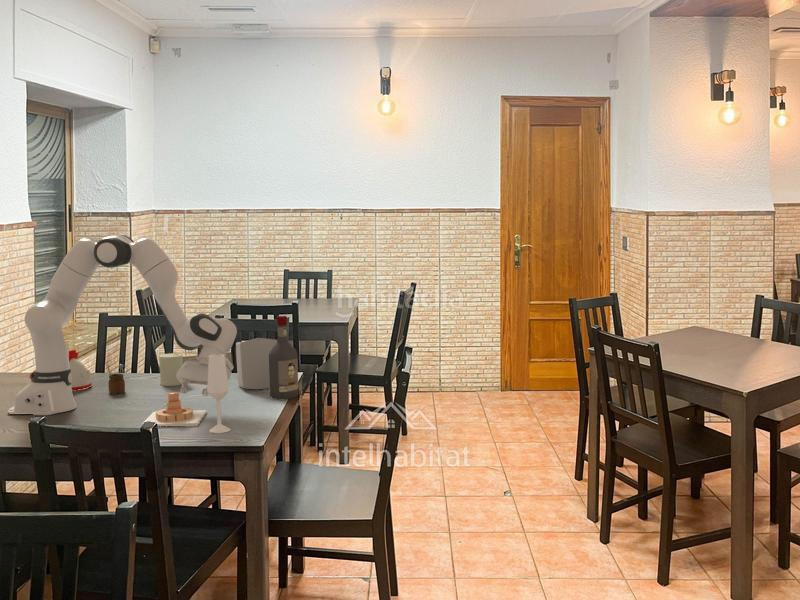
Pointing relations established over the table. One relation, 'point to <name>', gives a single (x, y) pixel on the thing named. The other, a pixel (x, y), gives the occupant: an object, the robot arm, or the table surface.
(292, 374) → the liquor
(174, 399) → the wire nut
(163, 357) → the can
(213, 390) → the champagne flute
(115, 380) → the utensil holder
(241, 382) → the electrical switch box
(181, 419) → the collar plate
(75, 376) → the kitchen timer
